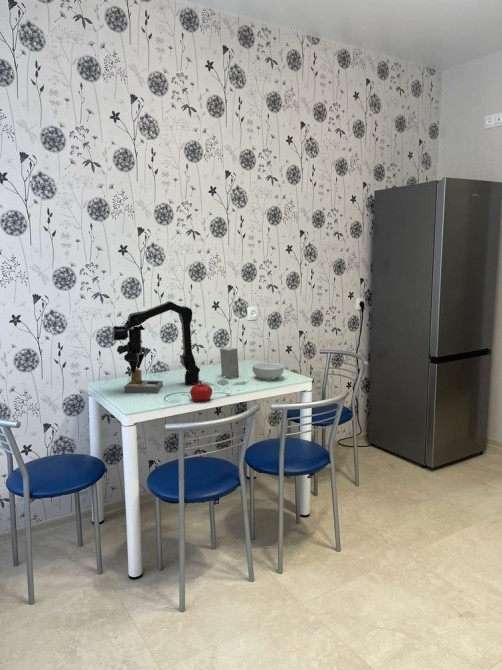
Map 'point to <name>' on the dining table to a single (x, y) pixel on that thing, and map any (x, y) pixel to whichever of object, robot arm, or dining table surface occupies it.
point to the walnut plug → (136, 377)
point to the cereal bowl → (268, 370)
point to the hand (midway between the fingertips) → (135, 370)
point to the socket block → (144, 387)
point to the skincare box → (229, 362)
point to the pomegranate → (201, 392)
